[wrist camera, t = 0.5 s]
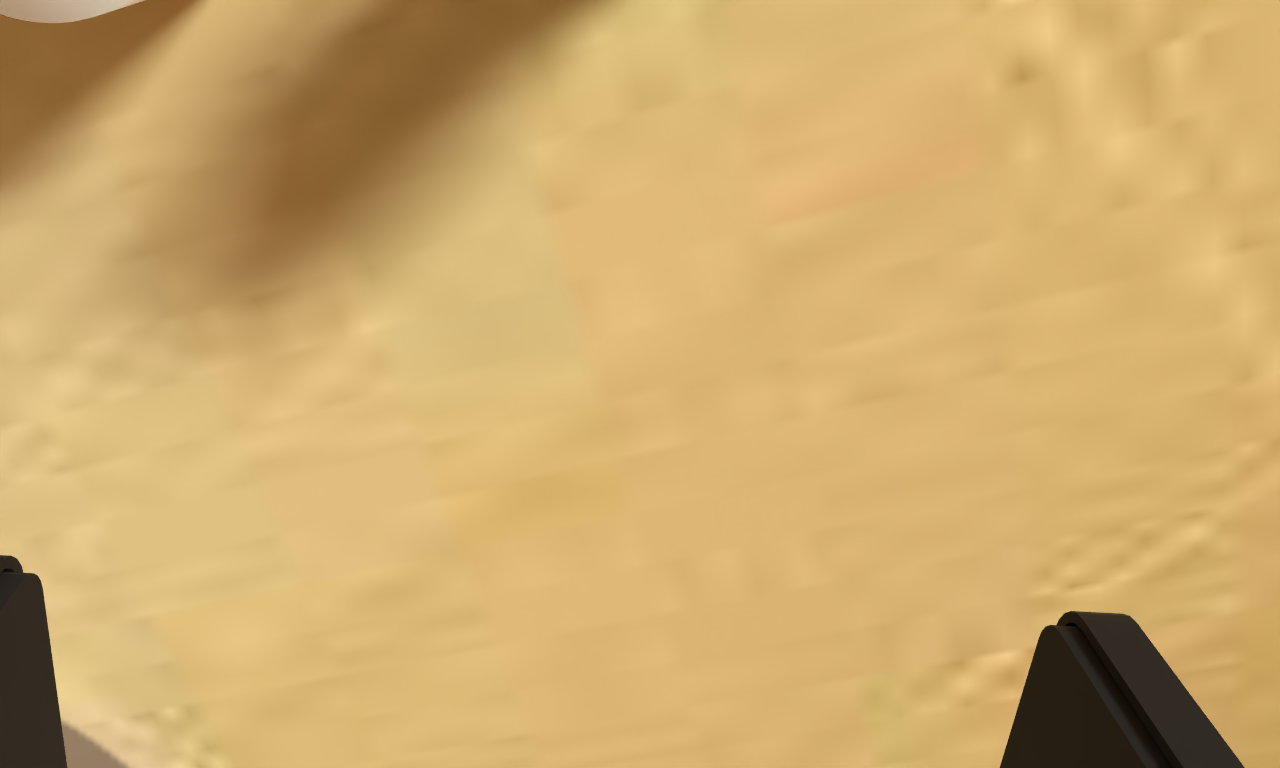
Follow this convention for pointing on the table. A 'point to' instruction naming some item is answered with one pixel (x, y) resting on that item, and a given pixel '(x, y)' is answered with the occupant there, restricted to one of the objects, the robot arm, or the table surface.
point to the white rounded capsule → (60, 9)
